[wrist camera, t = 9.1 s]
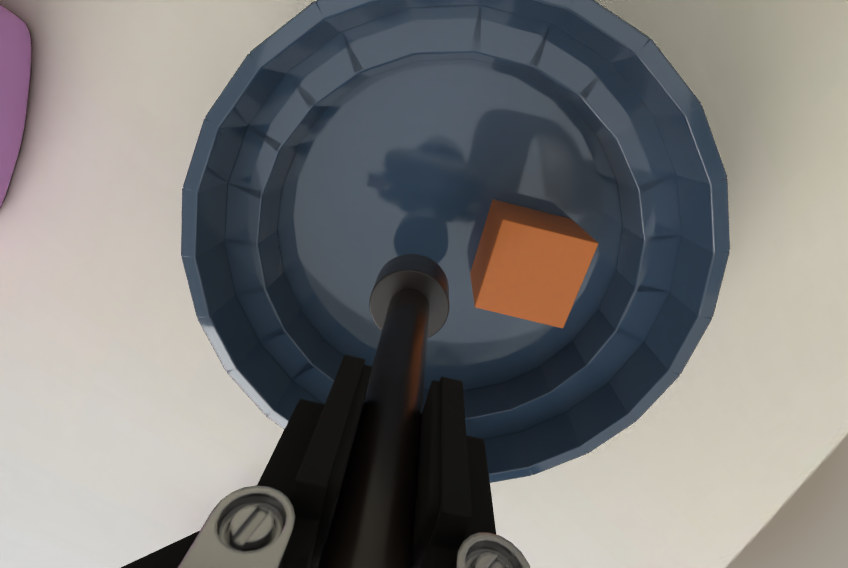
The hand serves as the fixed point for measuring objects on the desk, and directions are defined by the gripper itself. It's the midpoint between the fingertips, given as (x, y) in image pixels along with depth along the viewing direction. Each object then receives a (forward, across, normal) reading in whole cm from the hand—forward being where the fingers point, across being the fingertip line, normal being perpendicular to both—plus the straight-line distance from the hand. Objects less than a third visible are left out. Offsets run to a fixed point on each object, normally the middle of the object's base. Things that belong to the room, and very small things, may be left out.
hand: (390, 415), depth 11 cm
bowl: (+12, -1, -1) cm, 13 cm away
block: (+12, -5, -2) cm, 13 cm away
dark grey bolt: (+9, 0, 0) cm, 9 cm away
